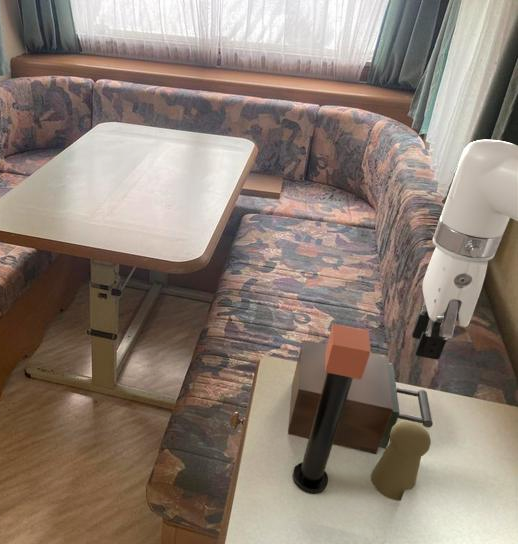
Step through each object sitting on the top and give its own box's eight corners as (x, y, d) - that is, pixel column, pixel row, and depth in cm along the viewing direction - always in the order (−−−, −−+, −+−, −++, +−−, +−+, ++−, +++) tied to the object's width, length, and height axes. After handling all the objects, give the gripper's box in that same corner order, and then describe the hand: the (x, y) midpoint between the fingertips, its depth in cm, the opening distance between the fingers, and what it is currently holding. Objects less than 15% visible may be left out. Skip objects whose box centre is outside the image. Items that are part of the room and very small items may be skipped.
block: (360, 357, 74) (368, 330, 72) (361, 379, 70) (370, 351, 68) (325, 350, 75) (332, 323, 72) (324, 372, 71) (332, 344, 69)
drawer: (416, 406, 97) (430, 371, 93) (424, 458, 88) (440, 421, 83) (306, 383, 100) (315, 348, 96) (303, 430, 91) (313, 394, 87)
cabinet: (372, 399, 99) (386, 356, 94) (376, 454, 89) (393, 409, 84) (292, 382, 102) (302, 339, 97) (287, 433, 91) (298, 389, 86)
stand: (332, 477, 85) (368, 362, 73) (319, 500, 81) (356, 384, 70) (300, 460, 87) (331, 347, 76) (286, 482, 84) (316, 366, 72)
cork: (375, 497, 82) (396, 443, 76) (367, 463, 87) (386, 411, 81) (418, 503, 82) (443, 449, 76) (407, 468, 87) (430, 416, 81)
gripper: (514, 274, 67) (462, 390, 77) (483, 215, 81) (443, 320, 91) (446, 263, 69) (403, 378, 78) (427, 207, 82) (393, 311, 92)
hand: (425, 346), depth 84 cm, fingers open, 3 cm apart
